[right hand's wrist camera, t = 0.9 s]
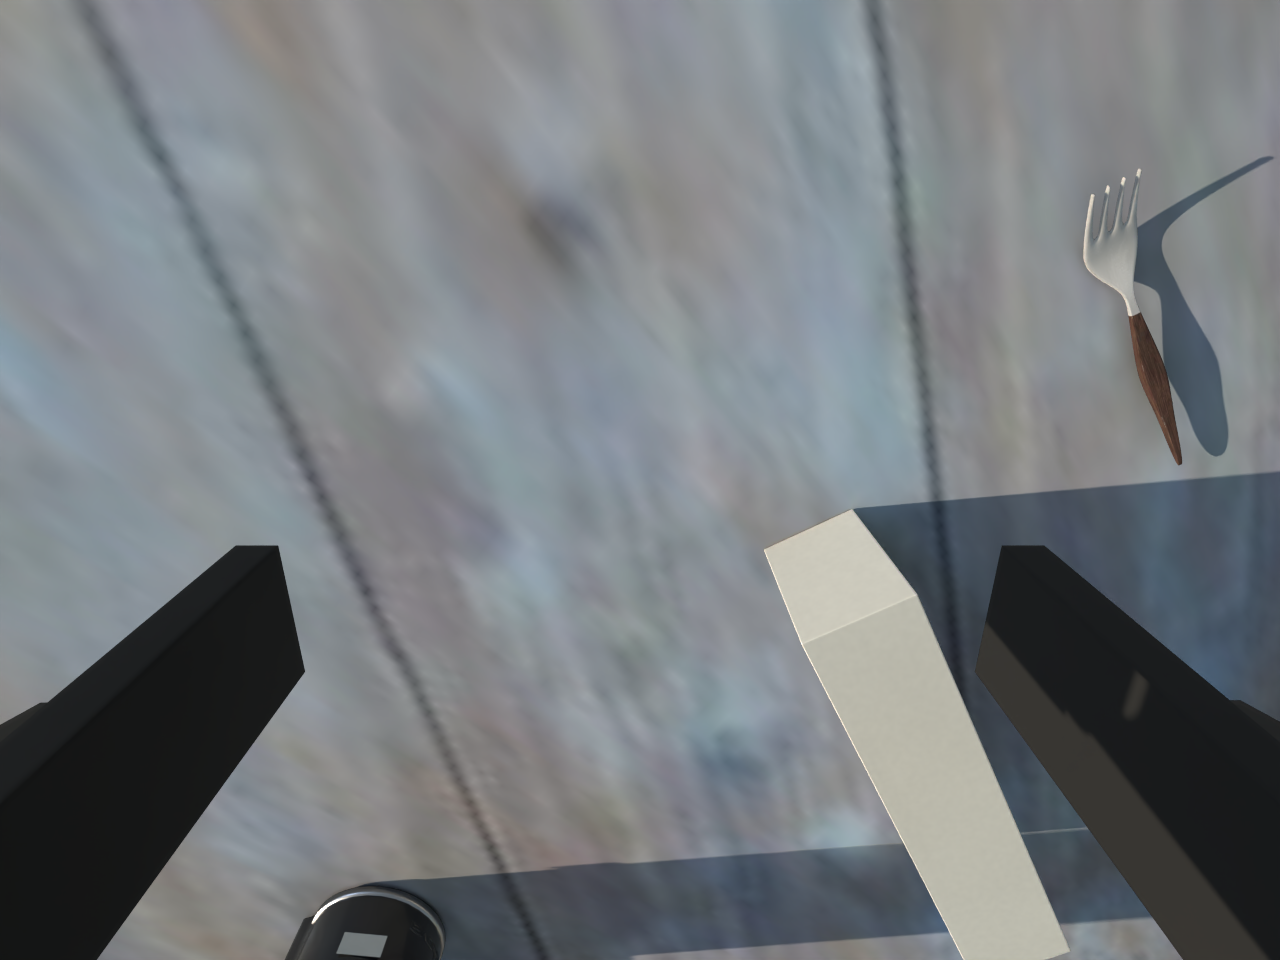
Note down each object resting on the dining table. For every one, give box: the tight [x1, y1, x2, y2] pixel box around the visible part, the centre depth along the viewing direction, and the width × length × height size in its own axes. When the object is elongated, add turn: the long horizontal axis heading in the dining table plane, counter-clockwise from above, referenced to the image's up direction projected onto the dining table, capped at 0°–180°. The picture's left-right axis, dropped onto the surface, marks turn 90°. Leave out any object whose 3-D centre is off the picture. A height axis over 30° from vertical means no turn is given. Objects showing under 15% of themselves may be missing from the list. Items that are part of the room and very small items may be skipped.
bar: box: [764, 509, 1071, 960], centre depth 39 cm, size 25×5×9 cm, turn 27°
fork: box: [1083, 169, 1182, 465], centre depth 34 cm, size 3×16×2 cm, turn 29°
